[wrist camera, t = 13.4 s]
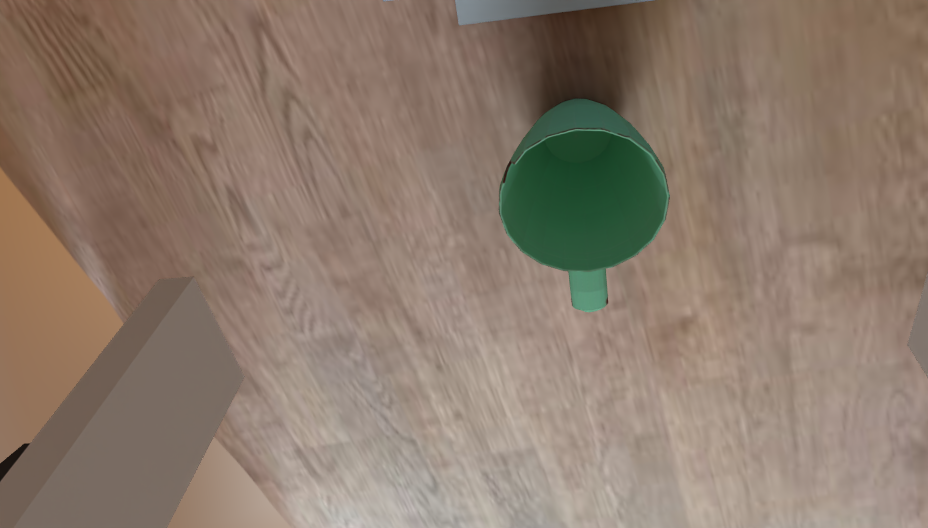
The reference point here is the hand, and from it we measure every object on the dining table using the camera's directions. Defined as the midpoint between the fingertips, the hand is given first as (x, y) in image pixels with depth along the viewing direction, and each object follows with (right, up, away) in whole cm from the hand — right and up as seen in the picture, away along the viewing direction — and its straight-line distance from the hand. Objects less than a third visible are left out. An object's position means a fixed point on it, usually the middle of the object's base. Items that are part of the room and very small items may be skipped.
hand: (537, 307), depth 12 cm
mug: (+7, +8, +36) cm, 37 cm away
